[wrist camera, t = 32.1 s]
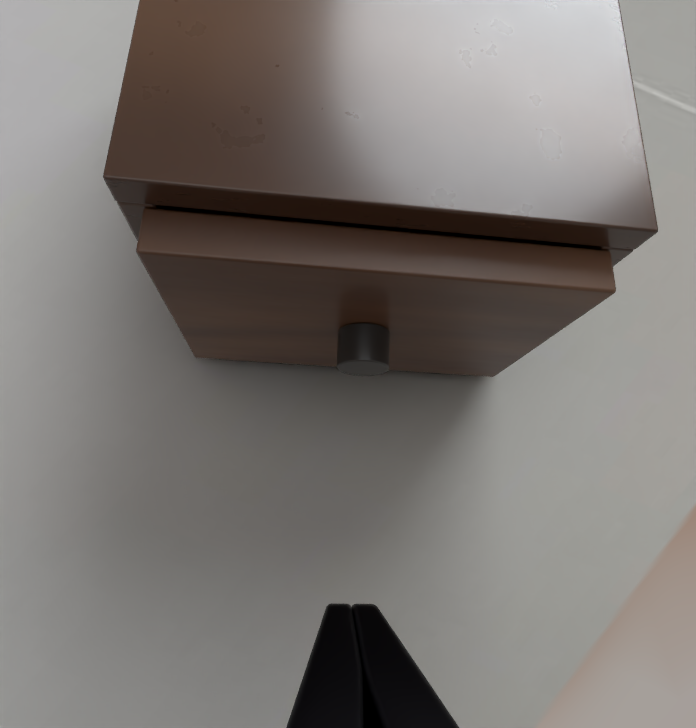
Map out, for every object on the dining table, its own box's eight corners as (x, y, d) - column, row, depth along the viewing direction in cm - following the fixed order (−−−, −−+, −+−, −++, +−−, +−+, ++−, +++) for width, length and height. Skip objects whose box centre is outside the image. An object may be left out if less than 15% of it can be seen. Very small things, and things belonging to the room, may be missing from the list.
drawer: (495, 407, 20) (624, 337, 12) (190, 389, 19) (125, 301, 11) (477, 85, 24) (562, -106, 17) (233, 55, 23) (208, -165, 16)
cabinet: (497, 356, 21) (659, 231, 12) (186, 335, 20) (101, 177, 11) (480, 65, 26) (587, -187, 17) (227, 33, 25) (192, -259, 16)
